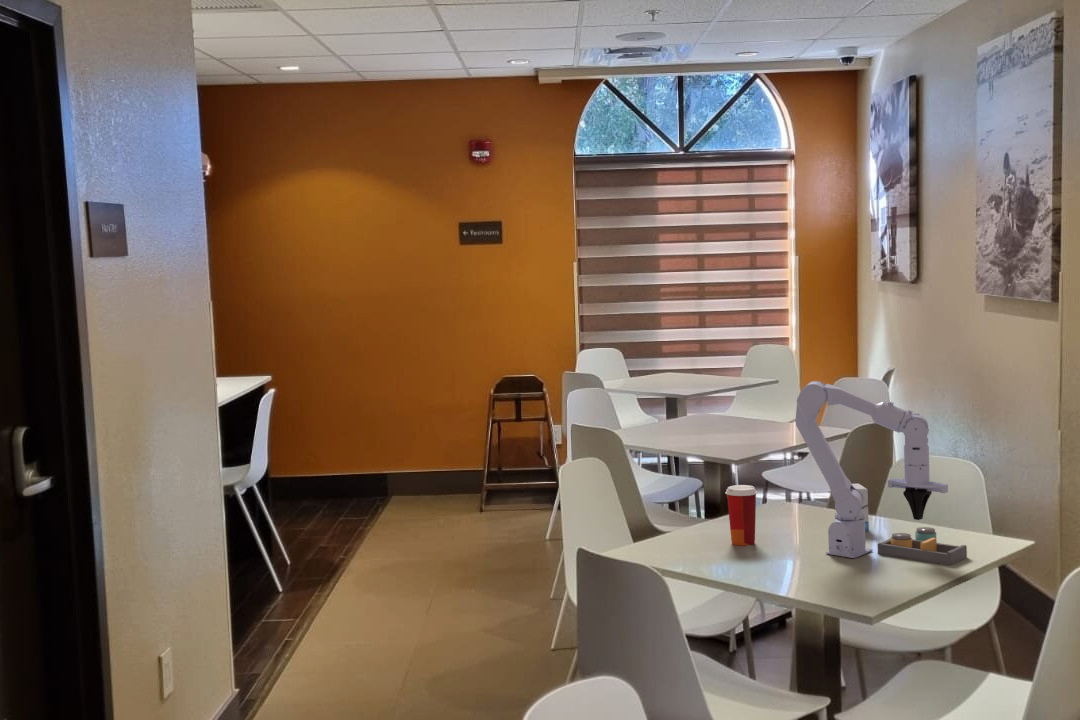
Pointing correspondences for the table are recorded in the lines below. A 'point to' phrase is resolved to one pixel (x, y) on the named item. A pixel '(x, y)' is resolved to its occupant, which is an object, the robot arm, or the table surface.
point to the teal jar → (925, 533)
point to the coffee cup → (742, 514)
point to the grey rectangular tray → (925, 552)
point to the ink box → (864, 503)
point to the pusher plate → (929, 545)
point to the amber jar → (901, 540)
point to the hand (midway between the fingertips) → (918, 519)
